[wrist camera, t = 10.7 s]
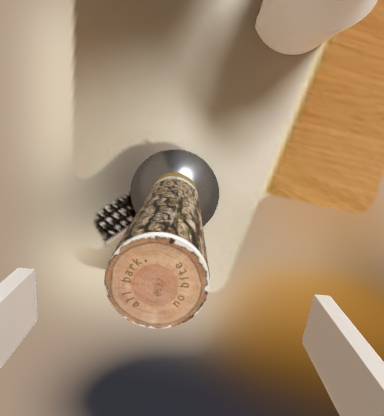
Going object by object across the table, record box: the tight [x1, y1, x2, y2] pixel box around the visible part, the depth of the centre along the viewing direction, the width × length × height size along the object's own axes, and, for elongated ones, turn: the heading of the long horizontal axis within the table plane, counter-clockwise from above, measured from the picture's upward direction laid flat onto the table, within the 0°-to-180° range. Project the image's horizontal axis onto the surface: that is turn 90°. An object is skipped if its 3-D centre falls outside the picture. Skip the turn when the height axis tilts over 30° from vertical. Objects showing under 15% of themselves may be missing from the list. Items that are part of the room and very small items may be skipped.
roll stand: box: [131, 149, 219, 226], centre depth 37 cm, size 13×13×14 cm
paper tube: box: [105, 172, 210, 328], centre depth 31 cm, size 7×7×25 cm
